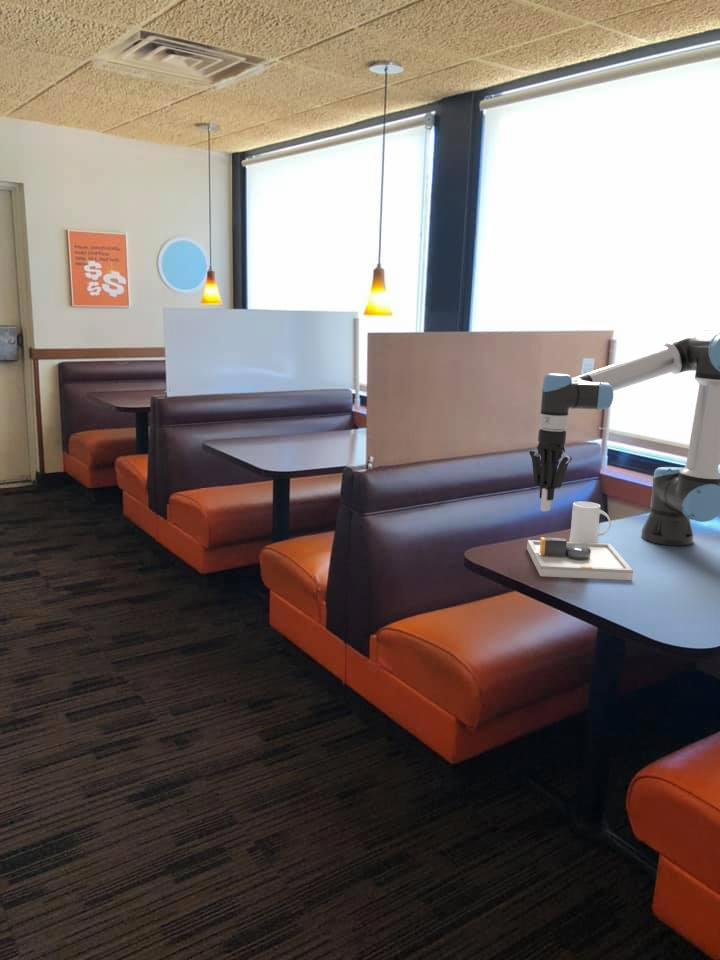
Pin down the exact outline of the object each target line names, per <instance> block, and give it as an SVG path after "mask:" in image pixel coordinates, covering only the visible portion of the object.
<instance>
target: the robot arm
mask: <svg viewBox="0 0 720 960" xmlns="http://www.w3.org/2000/svg"><path fill="white" fill-rule="evenodd" d="M689 371H695V375H694V379H695V380H696V382H698V384H699V385H698V390H697V391H698V392H697V398H696V404H695V409H694V416H693V422H692V426H691V433H690V439H689V444H688V445H689V446H688V450H687V457H686V461H685V462H686V463H685V466H684V467H681V466H680V467H677V466H661V467H657V468H656V469H655V470H654V472H653V477H652V485H651V487H652V488H651V496H650V497H651V498H650V500H651V501H650V507H649V513H648V516H647V518H646V520H645V522H644V525H643V526H642V528H641V538H642V539H643V540H645V541H648V542H651V543H654V544H658V545H663V546H671V547H672V546H673V547H675V546H676V547H679V546H681V547H683V546H689V545H691V544H693V541H694V533H693V528H692V524H691V520H692V521H695V522H700V523H703V522H704V523H706V522H710V521H712V520H714V519H716V518H717V517H718V516H720V472H719V466H720V331H719V330H717V331H716V330H714V331H713V330H701V331H696V332H694V333H691V334H688V335H686V336H683V337H682V336H681V337H680V338H678V339H675V340H672V341H669V342H666V343H665V344H664V346H663V347H662V348H659V349H656V350H653V351H650V352H647V353H644V354H641V355H638V356H637V355H636V356H634V357H632V358H629V359H625V360H622V361H619V362H616V363H614V364H610V365H607V366H605V367H601V368H598V369H596V370H592V371H590V372H586V373H584V374H579V375H578V376H577V375H576V376H571V375H570V374H566V373H546V374H545V375H544V377H543V382H542V388H541V405H540V413H539V415H540V417H539V428H540V429H539V430H538V435H537V442H538V444H537V447H536V448H535V449H534V450H533V449H532V450H529V456H530V457H531V463H532V464H531V465H532V472H533V480H534V481H533V482H534V484H535V485H538V486H539V499H540V508H539V509H540V511H541V512H544V513H545V512H549V511H551V504H552V501H553V500H554V497H555V490H556V489H559V488H561V487H562V484H563V481H564V479H565V475H566V473H567V469H568V465H569V463H570V462H571V461H572V460H573V457H572V456H571V455H570V456H568V454H567V453H566V449H565V444H566V439H567V430H566V429H568V419H569V418H568V417H569V409H572V410H573V409H574V410H575V409H581V410H596V411H599V410H608V409H609V408H610V407H611V405H612V403H613V400H614V392H615V391H617V390H620V389H623V388H626V387H630V386H632V385H635V384H638V383H641V382H645V381H648V380H651V379H654V378H657V377H660V376H662V375H666V374H669V373H672V374H674V375H676V374H679V373H684V372H689Z"/></svg>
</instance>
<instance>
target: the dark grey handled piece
mask: <svg viewBox="0 0 720 960" xmlns="http://www.w3.org/2000/svg"><path fill="white" fill-rule="evenodd" d="M539 541H540V554H541V555H550V556H567V557H569V558H574V559H588V558H590V554H591V549H590V548H588V547H586V546H582V545H567V546H566V544H567V542H568V541H567V539H566V538H562V537H543V536H541V537H540V540H539Z"/></svg>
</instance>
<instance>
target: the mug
mask: <svg viewBox="0 0 720 960" xmlns="http://www.w3.org/2000/svg"><path fill="white" fill-rule="evenodd" d="M600 515H603V516H605V517H606V518H607V521H608V527H607V529H606V530H604V531H602V532H599V525H600ZM611 522H612V521H611V518H610V516H609V515H608V513H606V512H605V511H604V510H602V509H601V504H599V503H597V502H592V501H586V500H585V501H583V500H582V501H581V500H580V501H574V502H573V503H572V512H571V525H570V535H569V538H568V542H586V543H599V540H598V537H600V536H603V535H605V534H607V533H608V532H609V530H610V528H611V525H612V523H611Z"/></svg>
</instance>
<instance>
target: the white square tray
mask: <svg viewBox="0 0 720 960" xmlns="http://www.w3.org/2000/svg"><path fill="white" fill-rule="evenodd" d="M540 541H541V540H540V539H539V540H538V539H537V540H535V539H533V540H532V539H527V542H526V543H527V544H526V545H527V546H526V549H527V552H528V554H529V557H530V558H531V560H532V562H533V564H534V566H535V568H536V570H537V573H538V574H539V576H540V577H546V578H547V577H551V578H570V579H571V578H574V579H591V580H592V579H595V580H611V581H612V580H613V581H614V580H615V581H616V580H617V581H618V580H620V581H633V577H634V576H633V575H634V574H633V573H634V570H633V568H632V567H631V566H630V565H629V564H628V563H627V561H626V560H625V559H624V558H623V557H622V555H620V554H619V552H618V551H617V550H616V549H615V548H614V546H613V545H612V544H611V543H605V542H598V543H586V542H570V541H567V544H566V546H567V545H582V546H586V547H588V548H590V549H591V554H590V558H588V559H574V558H569V557H567V556H550V555H541V554H540Z"/></svg>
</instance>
